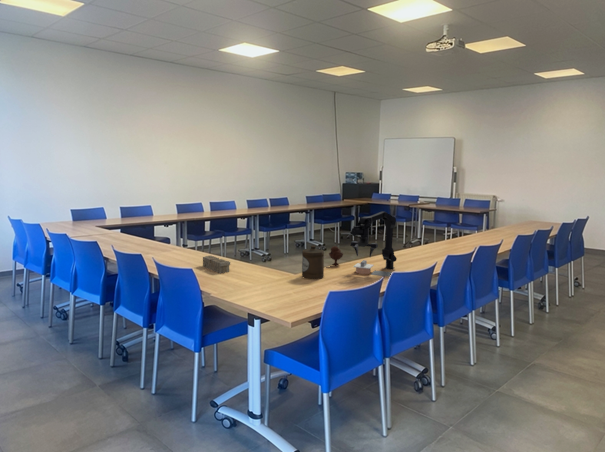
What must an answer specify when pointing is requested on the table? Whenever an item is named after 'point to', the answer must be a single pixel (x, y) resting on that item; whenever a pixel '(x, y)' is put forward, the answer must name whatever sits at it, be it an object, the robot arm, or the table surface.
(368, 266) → the lid
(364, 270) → the bowl
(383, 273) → the mat
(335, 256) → the brown egg chair
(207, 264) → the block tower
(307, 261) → the wooden container
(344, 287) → the table surface
